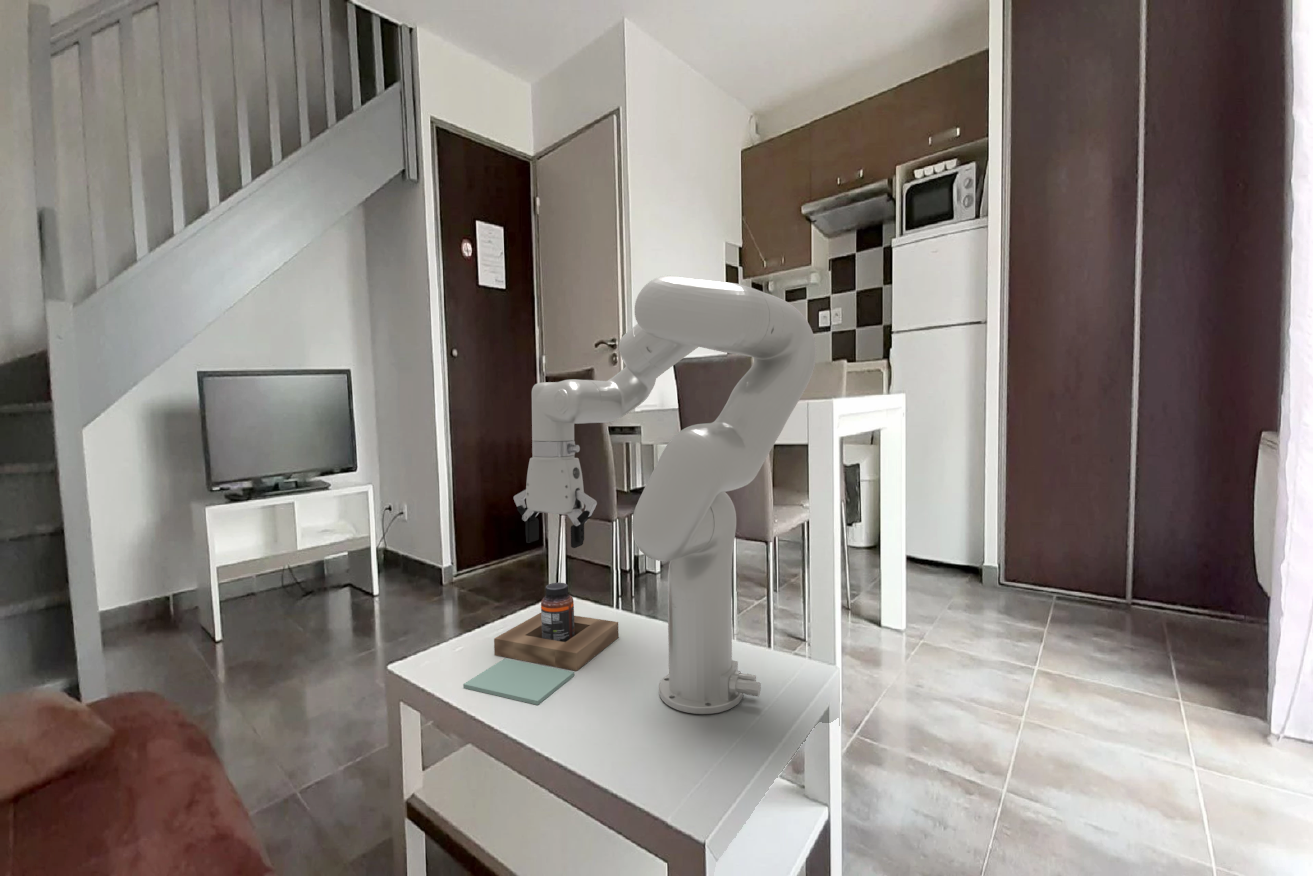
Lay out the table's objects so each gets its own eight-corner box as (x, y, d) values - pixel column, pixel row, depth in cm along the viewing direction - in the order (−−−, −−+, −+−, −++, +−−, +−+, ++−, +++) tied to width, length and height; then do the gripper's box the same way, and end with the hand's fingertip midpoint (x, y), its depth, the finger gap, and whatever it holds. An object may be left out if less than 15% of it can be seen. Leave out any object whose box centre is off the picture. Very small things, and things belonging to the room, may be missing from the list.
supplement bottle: (566, 637, 106) (565, 578, 106) (580, 647, 101) (579, 586, 101) (537, 644, 103) (535, 584, 103) (550, 656, 98) (548, 592, 98)
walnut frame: (618, 637, 106) (618, 622, 106) (576, 671, 92) (576, 653, 92) (543, 625, 113) (543, 611, 112) (494, 655, 99) (494, 638, 99)
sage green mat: (574, 675, 90) (574, 671, 90) (537, 705, 81) (537, 701, 81) (504, 661, 96) (504, 658, 96) (463, 688, 87) (463, 684, 87)
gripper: (605, 450, 101) (605, 543, 102) (526, 448, 108) (528, 535, 109) (583, 453, 94) (584, 553, 95) (501, 450, 101) (503, 543, 102)
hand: (554, 543), depth 102 cm, fingers open, 9 cm apart
